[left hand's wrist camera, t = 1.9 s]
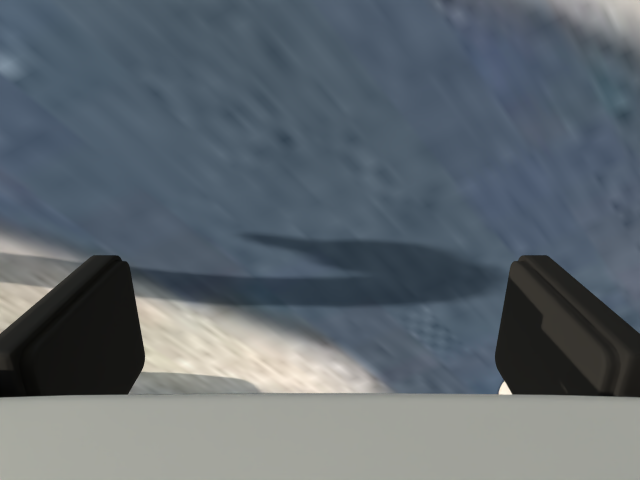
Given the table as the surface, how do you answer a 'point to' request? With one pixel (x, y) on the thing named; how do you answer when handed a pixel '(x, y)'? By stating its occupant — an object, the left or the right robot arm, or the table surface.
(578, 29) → the table surface
